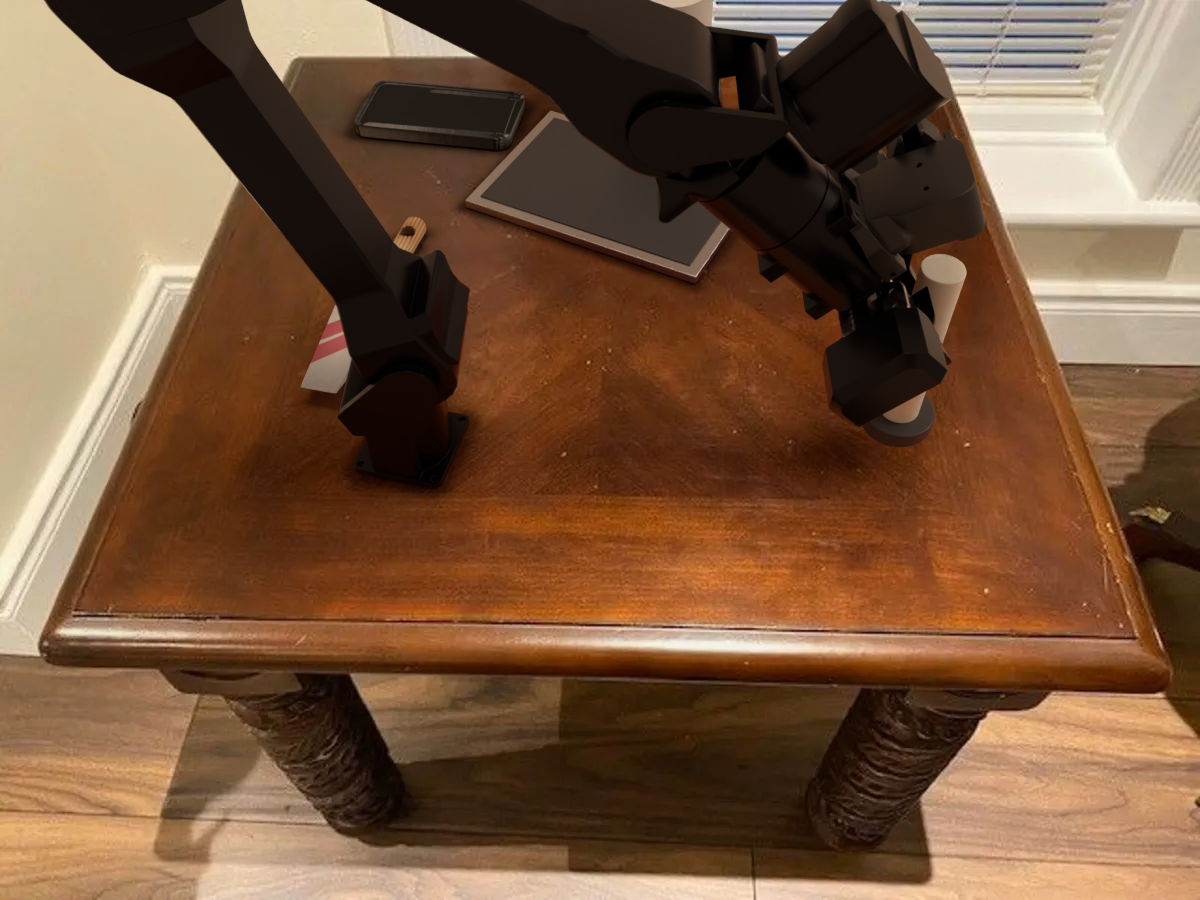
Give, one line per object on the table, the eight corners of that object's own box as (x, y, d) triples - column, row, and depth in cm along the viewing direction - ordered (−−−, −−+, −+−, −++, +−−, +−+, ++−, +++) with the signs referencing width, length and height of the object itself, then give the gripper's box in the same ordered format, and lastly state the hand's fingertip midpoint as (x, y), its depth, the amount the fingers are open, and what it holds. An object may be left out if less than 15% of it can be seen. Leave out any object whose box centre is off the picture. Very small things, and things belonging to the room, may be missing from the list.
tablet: (766, 181, 91) (767, 172, 91) (695, 284, 83) (696, 276, 83) (550, 117, 98) (550, 109, 97) (465, 207, 90) (464, 199, 89)
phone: (507, 140, 94) (350, 125, 96) (508, 151, 95) (353, 135, 97) (527, 92, 99) (377, 78, 101) (528, 102, 100) (379, 88, 102)
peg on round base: (928, 454, 68) (985, 303, 58) (855, 440, 69) (897, 289, 59) (933, 401, 71) (988, 248, 61) (863, 388, 72) (904, 235, 61)
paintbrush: (287, 371, 74) (393, 208, 87) (297, 398, 76) (399, 234, 89) (337, 380, 73) (437, 214, 86) (345, 407, 75) (441, 241, 88)
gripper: (949, 235, 46) (1109, 400, 54) (885, 16, 57) (1025, 179, 66) (753, 358, 52) (924, 488, 61) (731, 138, 64) (876, 273, 72)
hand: (940, 347), depth 65 cm, fingers closed on peg on round base, 2 cm apart
